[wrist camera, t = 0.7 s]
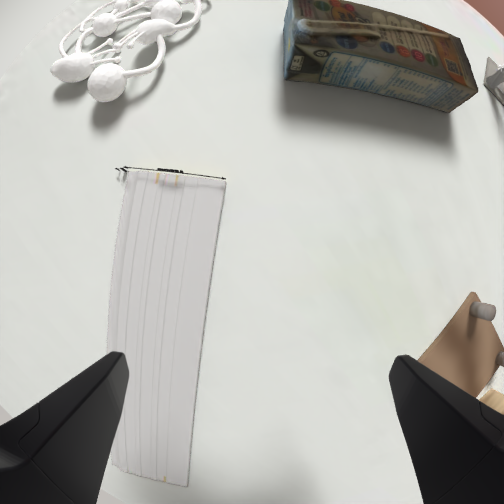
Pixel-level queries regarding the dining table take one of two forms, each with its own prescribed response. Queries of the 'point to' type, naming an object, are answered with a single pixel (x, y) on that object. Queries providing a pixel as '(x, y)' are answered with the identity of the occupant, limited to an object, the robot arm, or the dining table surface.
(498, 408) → the oak block
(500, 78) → the skyscraper
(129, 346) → the baseboard
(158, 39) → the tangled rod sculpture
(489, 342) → the peg plate
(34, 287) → the dining table surface
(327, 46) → the dark weathered brick
